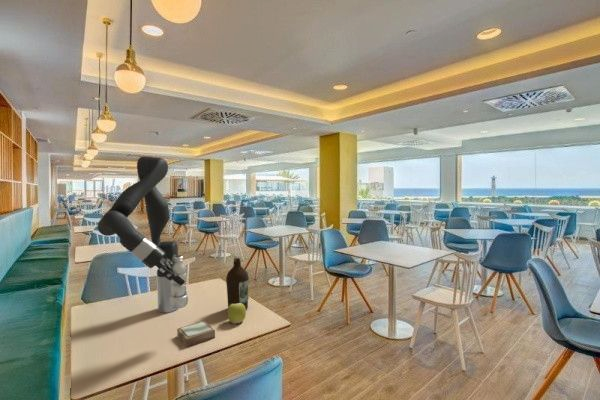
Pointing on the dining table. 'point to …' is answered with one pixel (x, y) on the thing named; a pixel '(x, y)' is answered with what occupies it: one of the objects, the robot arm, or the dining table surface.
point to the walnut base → (195, 333)
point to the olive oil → (237, 284)
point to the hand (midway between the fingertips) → (183, 280)
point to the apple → (236, 313)
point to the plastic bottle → (177, 291)
